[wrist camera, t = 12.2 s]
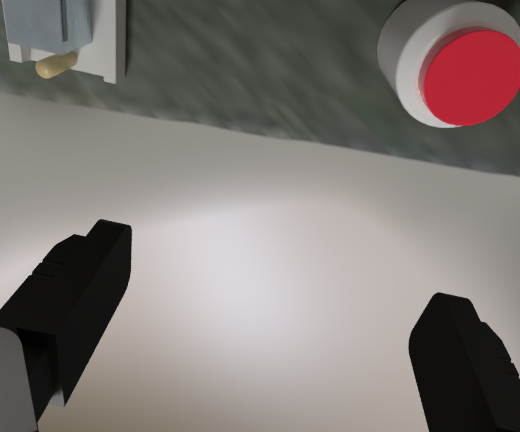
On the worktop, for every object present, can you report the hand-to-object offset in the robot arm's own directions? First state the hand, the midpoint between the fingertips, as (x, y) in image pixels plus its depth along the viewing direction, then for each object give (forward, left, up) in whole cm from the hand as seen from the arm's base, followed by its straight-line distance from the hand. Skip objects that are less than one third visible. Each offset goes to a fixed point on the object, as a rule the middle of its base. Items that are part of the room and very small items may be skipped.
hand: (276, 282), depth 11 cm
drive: (-1, -19, -27) cm, 33 cm away
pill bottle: (-3, +10, -28) cm, 30 cm away
